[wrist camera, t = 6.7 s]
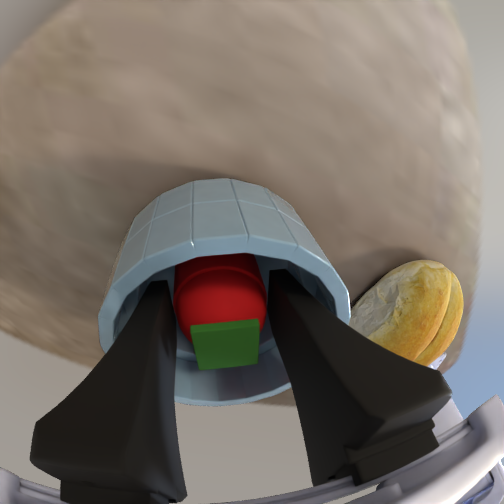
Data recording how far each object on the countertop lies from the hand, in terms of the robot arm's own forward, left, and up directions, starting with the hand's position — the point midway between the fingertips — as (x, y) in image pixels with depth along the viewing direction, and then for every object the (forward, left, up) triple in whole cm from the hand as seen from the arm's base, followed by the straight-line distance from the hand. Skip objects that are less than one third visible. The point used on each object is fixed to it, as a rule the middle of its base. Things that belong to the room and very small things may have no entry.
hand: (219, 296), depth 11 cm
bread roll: (-5, -11, -2) cm, 12 cm away
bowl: (0, 0, -2) cm, 2 cm away
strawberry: (0, 0, -2) cm, 2 cm away
